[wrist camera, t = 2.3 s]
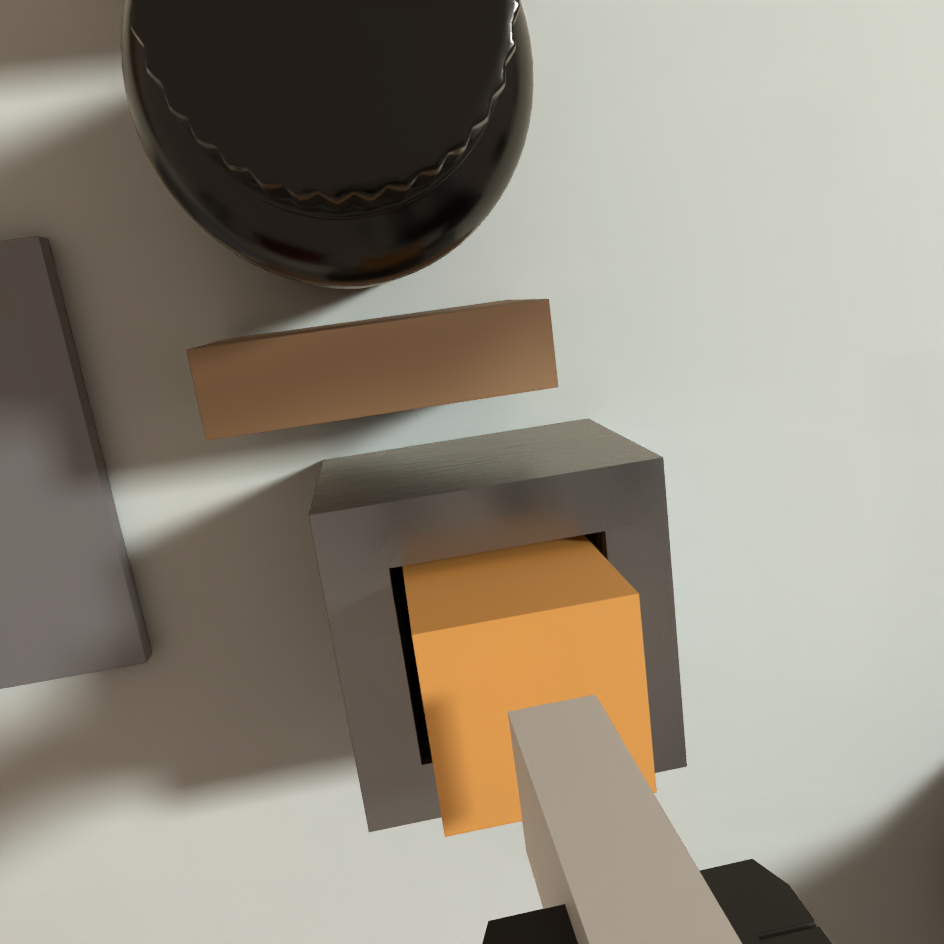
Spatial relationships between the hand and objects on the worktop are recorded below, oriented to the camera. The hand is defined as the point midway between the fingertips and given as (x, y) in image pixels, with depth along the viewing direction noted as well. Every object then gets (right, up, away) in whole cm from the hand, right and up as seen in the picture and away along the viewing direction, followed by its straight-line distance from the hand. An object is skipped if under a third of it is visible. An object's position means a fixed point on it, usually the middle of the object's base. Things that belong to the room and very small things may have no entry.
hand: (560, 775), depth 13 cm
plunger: (-1, +2, +8) cm, 8 cm away
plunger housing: (-1, +2, +11) cm, 11 cm away
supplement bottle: (-5, +13, +8) cm, 16 cm away
